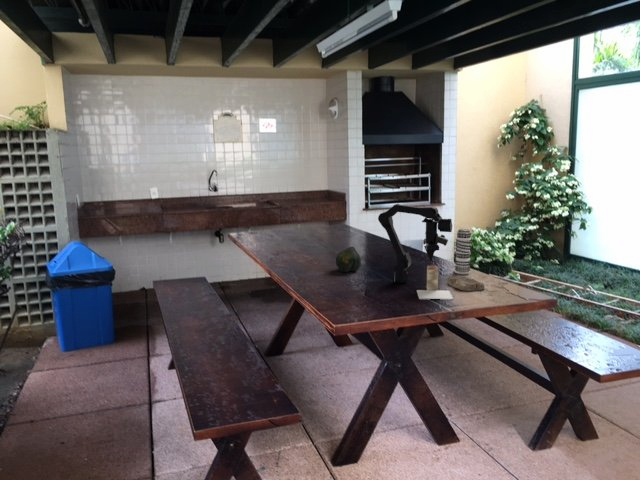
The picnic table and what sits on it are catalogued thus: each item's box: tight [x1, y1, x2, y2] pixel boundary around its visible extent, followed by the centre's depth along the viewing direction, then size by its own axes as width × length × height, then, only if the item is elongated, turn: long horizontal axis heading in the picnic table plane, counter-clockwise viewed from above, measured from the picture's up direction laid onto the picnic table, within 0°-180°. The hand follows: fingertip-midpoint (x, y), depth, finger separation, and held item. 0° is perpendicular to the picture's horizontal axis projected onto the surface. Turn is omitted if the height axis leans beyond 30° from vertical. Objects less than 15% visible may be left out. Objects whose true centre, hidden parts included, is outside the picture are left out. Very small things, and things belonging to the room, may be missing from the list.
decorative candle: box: [454, 228, 473, 275], centre depth 303 cm, size 9×9×25 cm
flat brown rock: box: [447, 275, 485, 292], centre depth 276 cm, size 14×5×20 cm
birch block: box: [426, 265, 439, 290], centre depth 268 cm, size 5×5×12 cm
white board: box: [416, 289, 454, 301], centre depth 259 cm, size 16×14×1 cm
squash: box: [335, 246, 362, 273], centre depth 310 cm, size 14×15×15 cm
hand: (430, 260), depth 277 cm, fingers closed
